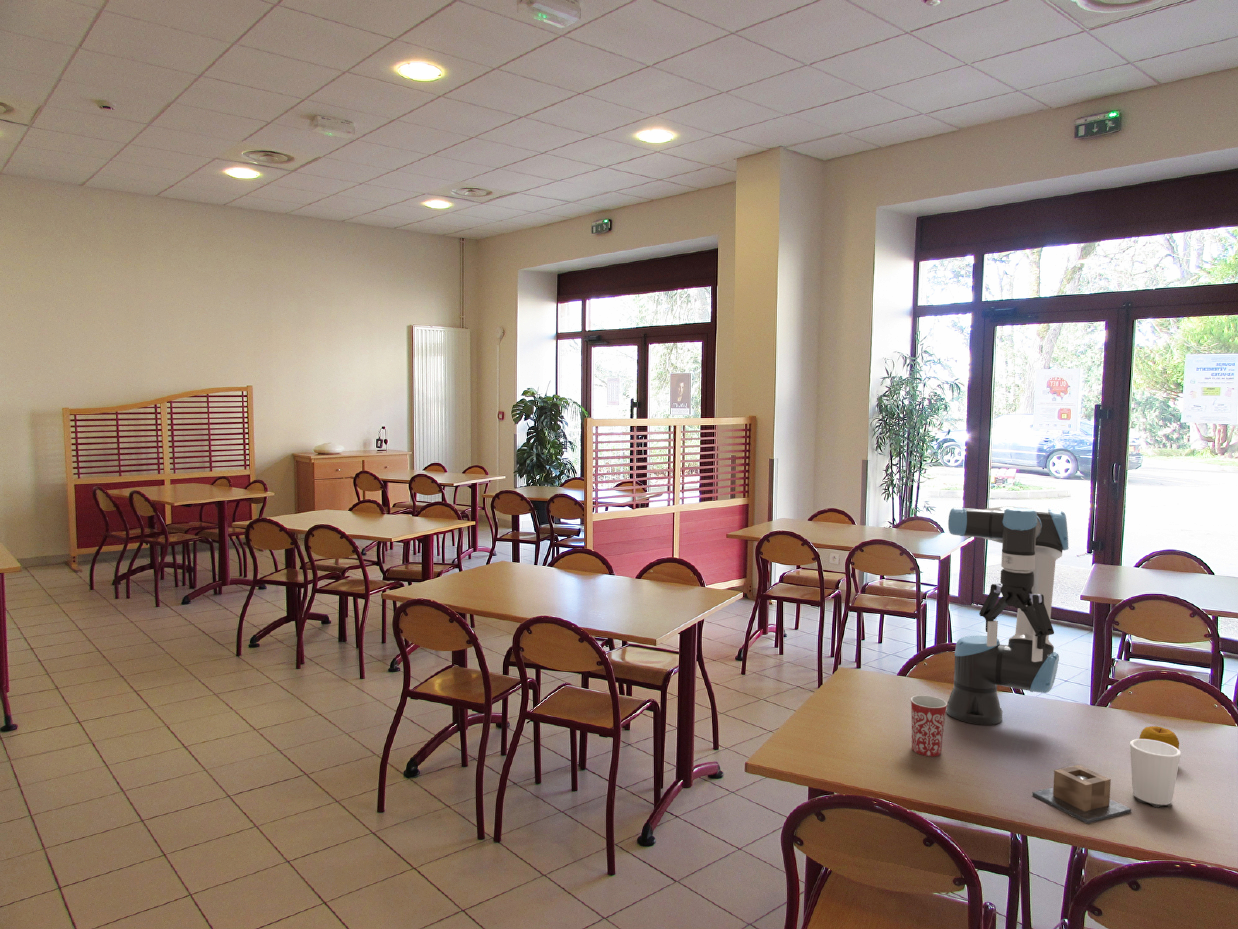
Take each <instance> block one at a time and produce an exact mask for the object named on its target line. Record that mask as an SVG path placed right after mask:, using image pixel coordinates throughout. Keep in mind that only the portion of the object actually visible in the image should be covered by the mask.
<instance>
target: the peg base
mask: <svg viewBox="0 0 1238 929" xmlns="http://www.w3.org/2000/svg"><path fill="white" fill-rule="evenodd" d="M1076 777H1079V778H1081V779H1083V780H1087V779H1088V778H1086V777H1083V776H1076ZM1032 797H1035V798H1037V799H1038V800H1041V801H1042V802H1044V803H1046V804H1048V805H1050V806H1052V807H1054V808H1055V809H1058V810H1060V811H1062V812H1064V813H1066V814H1067V813H1068V815H1069V814H1070V816H1071V815H1072V817H1073V818H1076V819H1077V820H1080V821H1081V822H1083V823H1085V824H1088V825H1089V824H1092V823H1096V822H1100V821H1104V820H1107V819H1111V818H1114V817H1115V818H1116V817H1118V816H1119V817H1120V816H1123V815H1126V814H1129V813H1132V808H1130V807H1128V806H1126V805H1124V804H1122V803H1120V802H1117V801H1115V800H1114V799H1111V798H1110V802H1109V805H1107V806H1104V807H1100V808H1096V809H1092V810H1088V811H1083V810H1081V809H1079V808H1077V807H1075V806H1073V805H1071V804H1069V803H1067V802H1065V801H1063V800H1061V799H1059V798H1057V797H1055V796H1053V787H1050V788H1049V787H1048V788H1045V789H1041V790H1035V791H1032Z"/></svg>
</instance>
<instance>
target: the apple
mask: <svg viewBox="0 0 1238 929" xmlns="http://www.w3.org/2000/svg"><path fill="white" fill-rule="evenodd" d="M1138 739H1150V740H1156V741H1160V742H1164V743H1167V744H1169V745H1172V746H1174V747H1176V748H1177V749H1178V750H1180V748H1179V747H1180V740H1179V738H1178V736H1177V735H1176V734H1175V732H1173V731H1172V730H1170V729H1168V728H1165V727H1161V726H1156V725H1153V726H1146V727H1144V728H1143V729H1142V730H1141V731H1140V734H1139V737H1138Z"/></svg>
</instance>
